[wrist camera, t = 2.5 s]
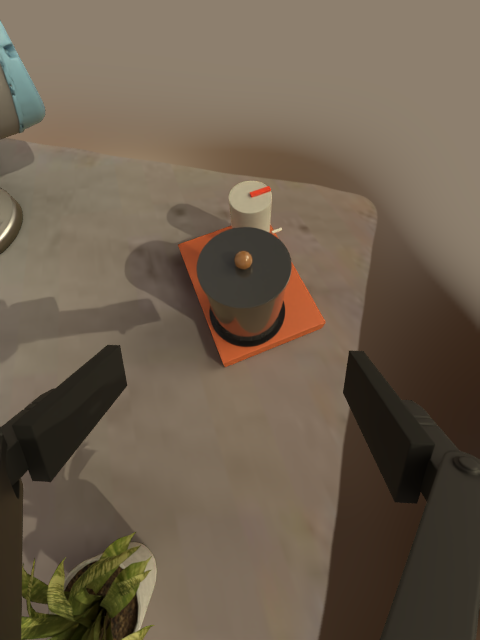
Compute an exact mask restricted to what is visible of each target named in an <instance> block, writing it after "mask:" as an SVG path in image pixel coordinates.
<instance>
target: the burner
mask: <svg viewBox="0 0 480 640" xmlns="http://www.w3.org/2000/svg"><path fill="white" fill-rule="evenodd" d="M209 316H210V321H211V324H212V326H213V328H214V330H215V331H216V333H217V334H218V335H219V336H220V337H221V338H222V339H223V340H225V341H226V342H228V343H230V344H233V345H236V346H240V347H254V346H258V345H261V344H264V343H266V342H267V341H269V340H271V339H272V338H273V337H274V336H275V335H276V334H277V333H278V332H279V330H280V329H281V327H282V325H283V322H284V319H285V304H284V301H283V303H282V308H281V313H280V317H279V321H278V323H277V325H276V326H275V328H274V329H273V330H272V331H271V332H270V333H269V334H268V335H266V336H265V337H263V338H261V339H258V340H254V341H240V340H236V339H233V338H231V337H229V336H227V335H226V334H225V333H224V332H223V331H222V330H221V329H220V328H219V326H218V325H217V323H216V320H215V318H214V315H213V312H212V309H211V307H210V309H209Z"/></svg>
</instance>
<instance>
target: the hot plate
mask: <svg viewBox="0 0 480 640" xmlns="http://www.w3.org/2000/svg"><path fill="white" fill-rule="evenodd" d="M229 229H232V226H229V227H226V228H223V229H221V230H218V231H215V232H212V233H209V234H206V235H204V236H201V237H198V238H195V239H192V240H190V241H187V242H184V243H181V244H178V246H179V249H180V252H181V254H182V257H183V260H184V262H185V265H186V267H187V270H188V273H189V275H190V278H191V281H192V283H193V286H194V289H195V291H196V294H197V296H198V299H199V302H200V304H201V307H202V310H203V312H204V315H205V317H206V320H207V323H208V325H209V328H210V331H211V333H212V336H213V339H214V341H215V344H216V346H217V349H218V352H219V354H220V357H221V360H222V362H223V365H224V367H227V366H229V365H232V364H234V363H237V362H239V361H242V360H244V359H247V358H249V357H252V356H254V355H257V354H259V353H261V352H264V351H266V350H269V349H271V348H274V347H276V346H279V345H281V344H284V343H286V342H289V341H291V340H294V339H296V338H299V337H301V336H303V335H306V334H308V333H311V332H313V331H316V330H318V329H321V328H322V327H323V326H324V324H325V320H324V318H323V317H322V315H321V313H320V311H319V310H318V308H317V306H316V304H315V302H314V301H313V299H312V297H311V295H310V294H309V292H308V290H307V288H306V287H305V285H304V283H303V281H302V279H301V278H300V276H299V274H298V272H297V271H296V269H295V267H294V265H293V264H292V270H291V276H290V280H289V283H288V285H287V287H286V289H285V293H284V298H283V301H284V304H285V319H284V322H283V325H282V327H281V329H280V330H279V332H278V333H277V334H276V335H275V336H274V337H273V338H272V339H271V340H269V341H267V342H266V343H264V344H261V345H258V346H254V347H240V346H236V345H233V344H230V343H228V342H226V341H225V340H223V339H222V338H221V337H220V336H219V335H218V334H217V333H216V331H215V330H214V328H213V326H212V324H211V321H210V316H209V309H210V304H209V301H208V298H207V296H206V294H205V292H204V291H203V289H202V288H201V285H200V283H199V280H198V277H197V261H198V258H199V255H200V253H201V251H202V249H203V248H204V246H205V245H206V244H207V243H208V242H209V241H210V240H211V239H212V238H213V237H215V236H216V235H218V234H220V233H221V232H224V231H226V230H229ZM281 230H282V229H281V228H279V229H276V230H273V228H272V226H271V225H270V232H269V233H271V234H273V235H274V236H276V237H277V235H276V232H279V231H281ZM277 238H278V237H277ZM291 263H292V262H291Z"/></svg>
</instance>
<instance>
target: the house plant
mask: <svg viewBox="0 0 480 640" xmlns="http://www.w3.org/2000/svg"><path fill="white" fill-rule="evenodd" d="M135 533H136V532H134V533H133V534H131V535H129V536H125V537H122V538H119V539H117V540H116V541H115V542H113V543H112V544H111V545H110V546H109V547H108V548H107V549H106V550H105V551H104V553H102V554H100V555H97V556H95V557H92V558H90V559H88V560H85V561H83V562H82V563H81V564H79V565H78V566H76V567H75V568H74V569H72V570H71V572H70V573H69V574H68V575H67V576H66V577H65V575H64V567H63V561H64V560H65V559H64V560H62V562H61V563H60V564H59V565H58V567H57V569H56V571H55V573H54V574H53V576H52V578H51V580H50V582H49V586H48V585H46V584H45V583H43V582H42V581H40V580H38V579H37V578H35V577H33V575H34V564H35V558H34V563H33V568H32V573H31V575H29V574H27V573H26V571H25V570H24V568H23V566H22V596H23V598H25V599H27V611H28V614H29V617H23V616H22V618H21V640H25V639H37V638H47V640H143V638H144V636H145V635H146V633H147V632H148V630H149V629H150V627H151V626H154V625H150V626H146V627H144V628H142V629H140V628H141V625H142V622H143V619H144V616H145V613H146V610H147V607H148V604H149V601H150V598H151V595H152V592H153V589H154V586H155V582H156V574H157V568H156V562H155V559H154V557H153V554H152V553H151V551H150V550H149V549H148V548H147V547H146V546H144V545H143V543H142V544H141V543H137V542H130V541H131V539H132V537H133V535H134V534H135ZM23 565H24V563H23ZM30 601H32V602H36V603H42V604H48V607H49V614H42V613H37V612H35V610H34V609H33V608H32V606H31V603H30Z"/></svg>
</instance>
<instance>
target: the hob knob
mask: <svg viewBox="0 0 480 640" xmlns="http://www.w3.org/2000/svg"><path fill="white" fill-rule="evenodd" d="M271 203H272V194H271V189H270V187H269V186H266V185H265V184H263V183H261V182H258V181H245V182H241V183H239V184H237V185H236V186H234V187H233V188H232V190H231V191H230V193H229V207H230V215H231V223H232V228H238V227H253V228H258V229H262V230H265V231H267V232H270V217H271Z"/></svg>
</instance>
